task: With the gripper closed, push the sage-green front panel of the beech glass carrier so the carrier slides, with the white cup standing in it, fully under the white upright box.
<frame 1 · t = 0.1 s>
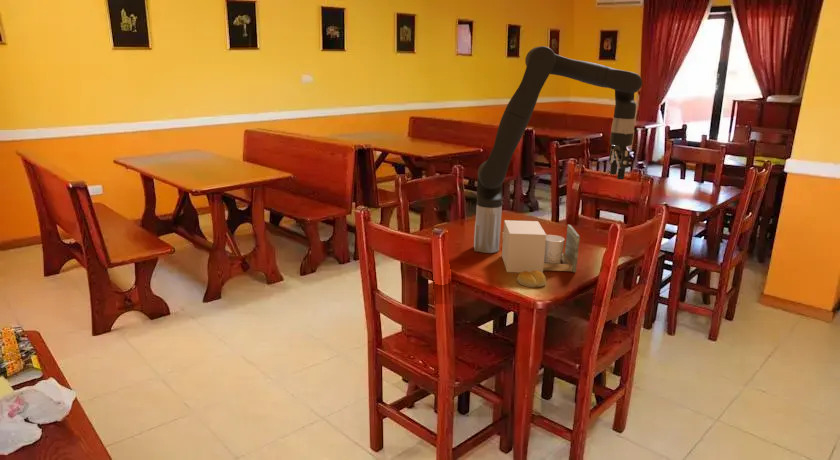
hand: (616, 176, 206), 29 cm above the table, tool pointing down, fingers open, 8 cm apart
carrier: (555, 247, 199), point 7 cm above the table, slide at 9.0 cm
bread roll: (531, 283, 185), on the table
white upright box: (521, 264, 201), on the table
white cup: (550, 265, 201), resting in carrier
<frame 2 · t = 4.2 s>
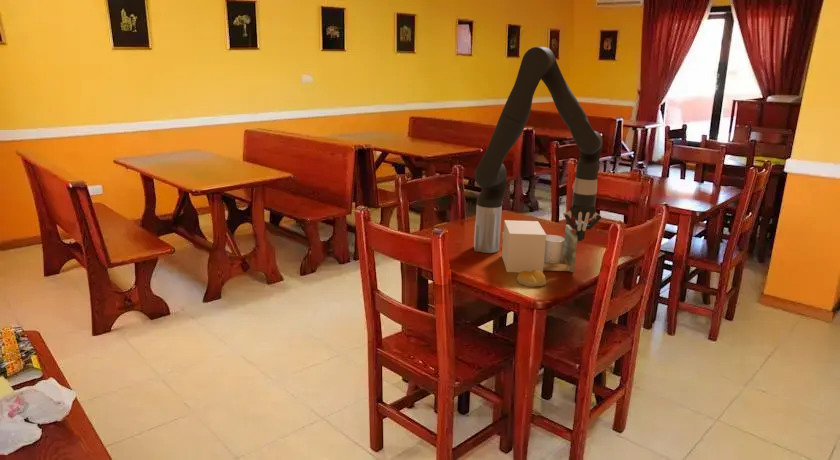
hand: (579, 240, 198), 9 cm above the table, tool pointing down, fingers closed
carrier: (552, 247, 199), point 7 cm above the table, slide at 8.3 cm, touching gripper
everything else where it was.
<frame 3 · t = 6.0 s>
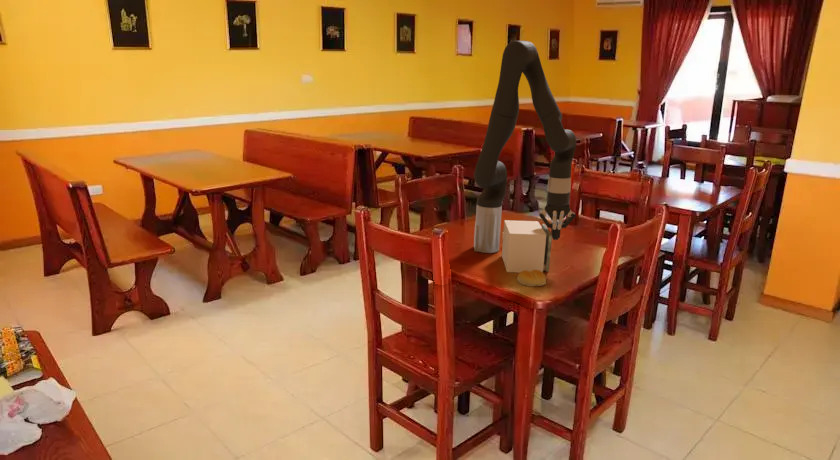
hand: (555, 239, 198), 10 cm above the table, tool pointing down, fingers closed
carrier: (528, 246, 199), point 7 cm above the table, slide at -0.1 cm, touching white cup, gripper
white cup: (528, 265, 201), resting in carrier
everything else where it was.
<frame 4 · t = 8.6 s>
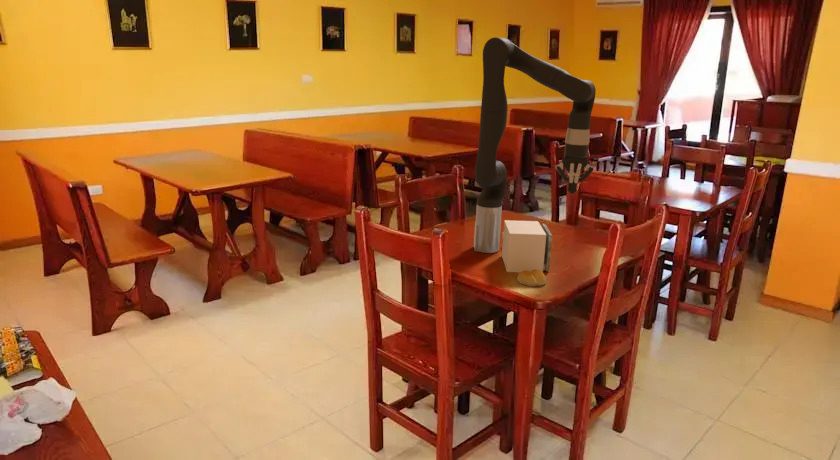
hand: (571, 193, 195), 25 cm above the table, tool pointing down, fingers closed
carrier: (528, 246, 199), point 7 cm above the table, slide at 0.0 cm
white cup: (528, 265, 201), resting in carrier
everything else where it was.
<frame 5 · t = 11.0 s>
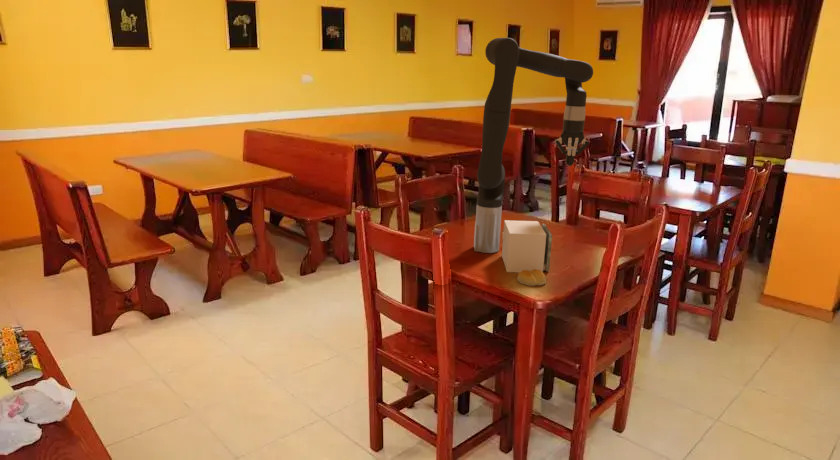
hand: (569, 165, 215), 31 cm above the table, tool pointing down, fingers closed
at the end: carrier slide at 0.0 cm; white cup inside the target area on the white upright box (3.0 cm from its centre), point 0.0 cm above the white upright box's base; white cup tilted 0° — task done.
